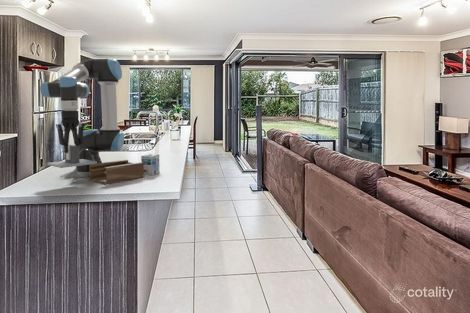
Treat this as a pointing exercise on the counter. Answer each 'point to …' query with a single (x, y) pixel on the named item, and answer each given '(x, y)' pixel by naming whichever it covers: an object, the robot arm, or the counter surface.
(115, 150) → the robot arm
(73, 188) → the counter surface
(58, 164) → the cover plate
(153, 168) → the light bulb box
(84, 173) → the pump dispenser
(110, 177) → the walnut box
